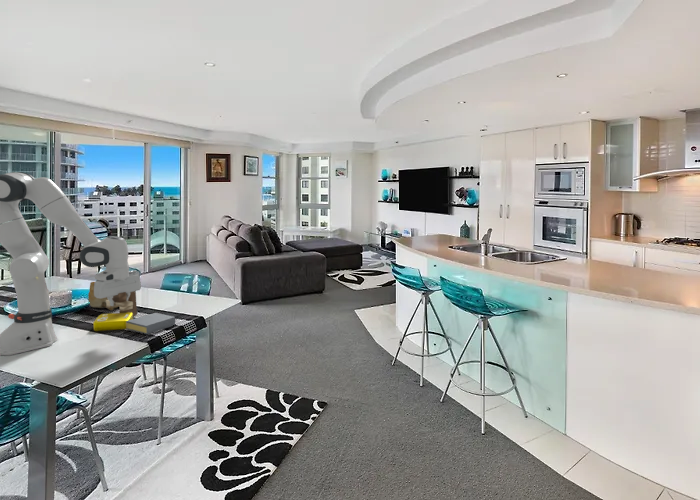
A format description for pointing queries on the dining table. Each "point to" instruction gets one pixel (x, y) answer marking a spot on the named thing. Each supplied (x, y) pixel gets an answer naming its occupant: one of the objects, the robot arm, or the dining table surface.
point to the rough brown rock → (97, 299)
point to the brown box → (120, 297)
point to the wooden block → (133, 299)
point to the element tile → (112, 321)
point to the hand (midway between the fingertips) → (119, 304)
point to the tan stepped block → (121, 305)
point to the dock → (150, 323)
